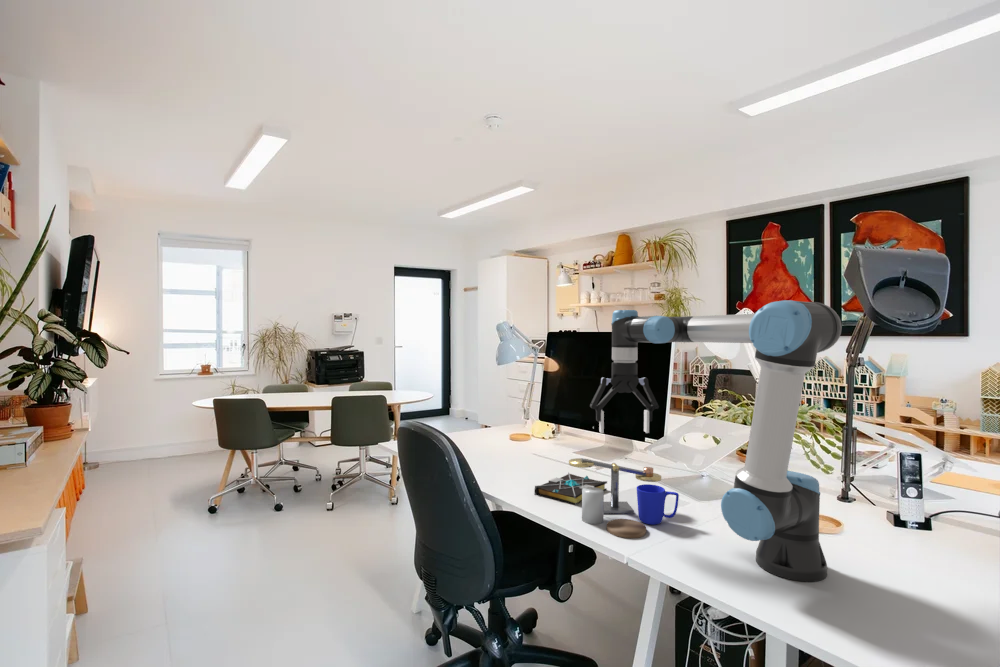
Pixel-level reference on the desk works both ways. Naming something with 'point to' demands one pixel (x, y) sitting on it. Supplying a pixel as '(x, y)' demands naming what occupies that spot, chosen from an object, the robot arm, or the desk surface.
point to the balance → (617, 482)
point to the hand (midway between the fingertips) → (623, 432)
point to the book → (568, 488)
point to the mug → (653, 503)
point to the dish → (626, 528)
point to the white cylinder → (592, 505)
